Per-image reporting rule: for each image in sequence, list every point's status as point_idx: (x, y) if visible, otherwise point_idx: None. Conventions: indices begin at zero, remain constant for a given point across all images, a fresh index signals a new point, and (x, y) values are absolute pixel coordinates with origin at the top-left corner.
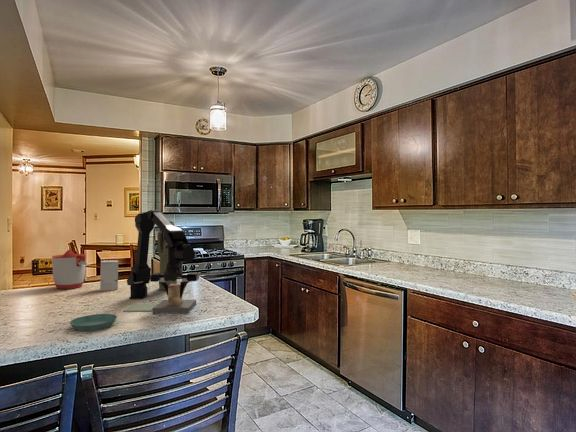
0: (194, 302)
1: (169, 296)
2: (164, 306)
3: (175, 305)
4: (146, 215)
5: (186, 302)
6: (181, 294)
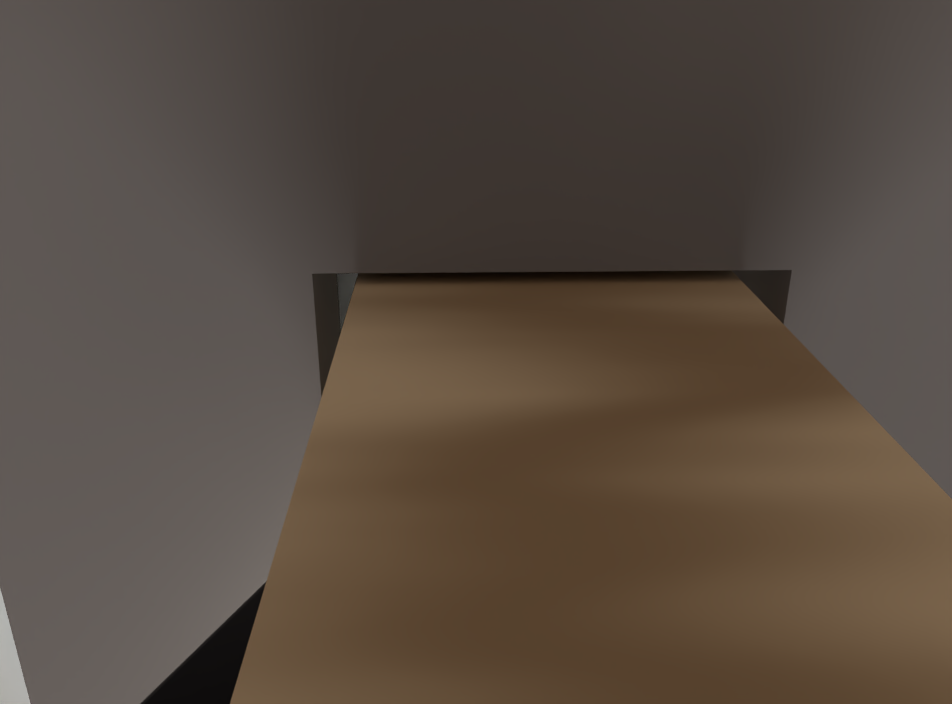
0: (47, 691)
1: (822, 432)
2: (854, 107)
3: (477, 249)
4: None
5: (230, 606)
6: (233, 634)
